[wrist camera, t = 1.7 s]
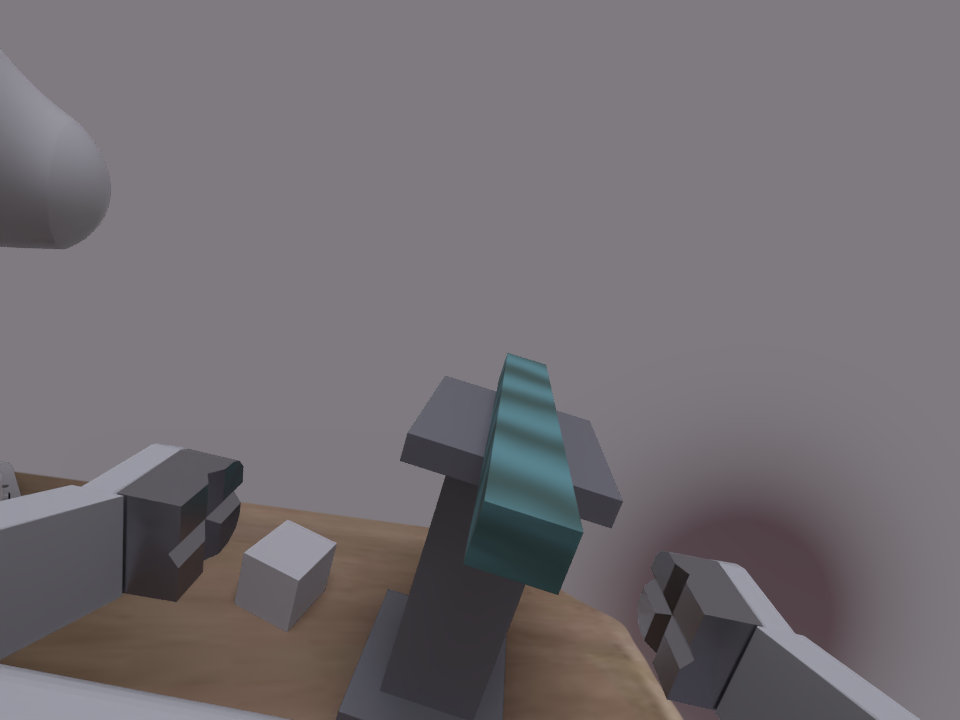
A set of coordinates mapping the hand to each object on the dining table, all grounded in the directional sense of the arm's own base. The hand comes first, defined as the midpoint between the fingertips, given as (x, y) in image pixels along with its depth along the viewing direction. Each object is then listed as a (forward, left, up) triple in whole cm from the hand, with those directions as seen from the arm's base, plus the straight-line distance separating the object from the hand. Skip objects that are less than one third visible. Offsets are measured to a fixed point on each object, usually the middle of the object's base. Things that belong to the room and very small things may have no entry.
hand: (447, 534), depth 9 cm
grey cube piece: (-29, +11, -33) cm, 46 cm away
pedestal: (-15, +20, -33) cm, 41 cm away
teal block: (-13, +18, -7) cm, 23 cm away
